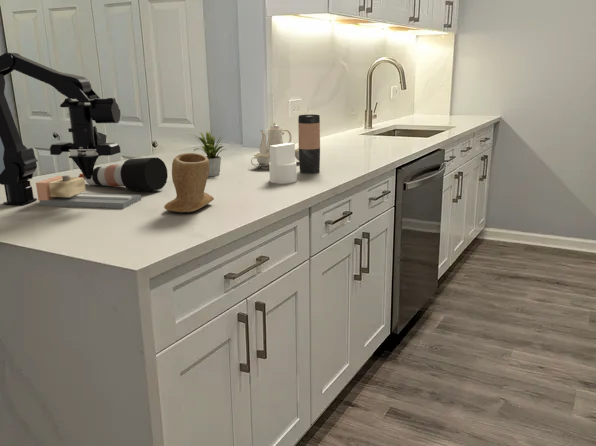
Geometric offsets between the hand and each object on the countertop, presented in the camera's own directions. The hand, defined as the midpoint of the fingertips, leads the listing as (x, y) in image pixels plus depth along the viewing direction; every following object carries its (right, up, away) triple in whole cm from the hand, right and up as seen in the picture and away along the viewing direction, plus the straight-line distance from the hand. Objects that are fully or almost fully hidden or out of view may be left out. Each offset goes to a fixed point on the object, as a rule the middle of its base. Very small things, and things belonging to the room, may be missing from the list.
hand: (88, 179), depth 154 cm
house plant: (+28, +5, +39) cm, 48 cm away
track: (0, -7, +2) cm, 7 cm away
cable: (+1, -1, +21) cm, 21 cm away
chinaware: (+52, +10, +58) cm, 79 cm away
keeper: (-7, -4, +3) cm, 8 cm away
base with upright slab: (+54, +2, +27) cm, 61 cm away
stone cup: (+31, -9, -6) cm, 33 cm away
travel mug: (+64, +6, +41) cm, 76 cm away
